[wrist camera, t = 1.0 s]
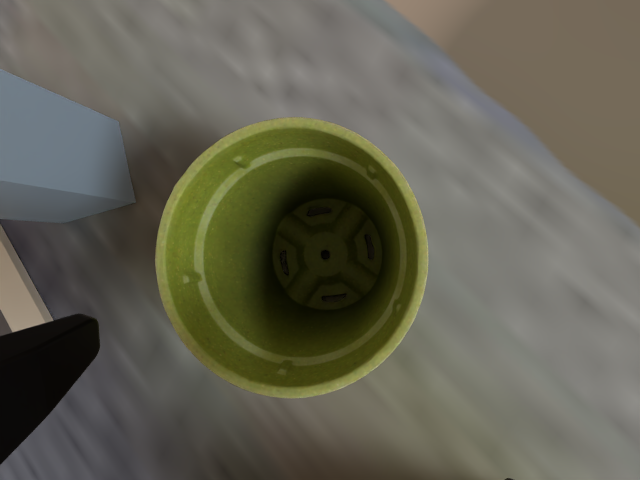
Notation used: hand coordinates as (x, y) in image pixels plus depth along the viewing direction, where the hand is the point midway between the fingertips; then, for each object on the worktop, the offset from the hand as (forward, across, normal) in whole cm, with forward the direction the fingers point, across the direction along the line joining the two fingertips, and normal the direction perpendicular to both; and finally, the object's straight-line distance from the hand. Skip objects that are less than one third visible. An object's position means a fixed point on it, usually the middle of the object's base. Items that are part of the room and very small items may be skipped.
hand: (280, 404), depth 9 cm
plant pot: (+14, +2, +4) cm, 14 cm away
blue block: (+14, +17, +3) cm, 22 cm away
